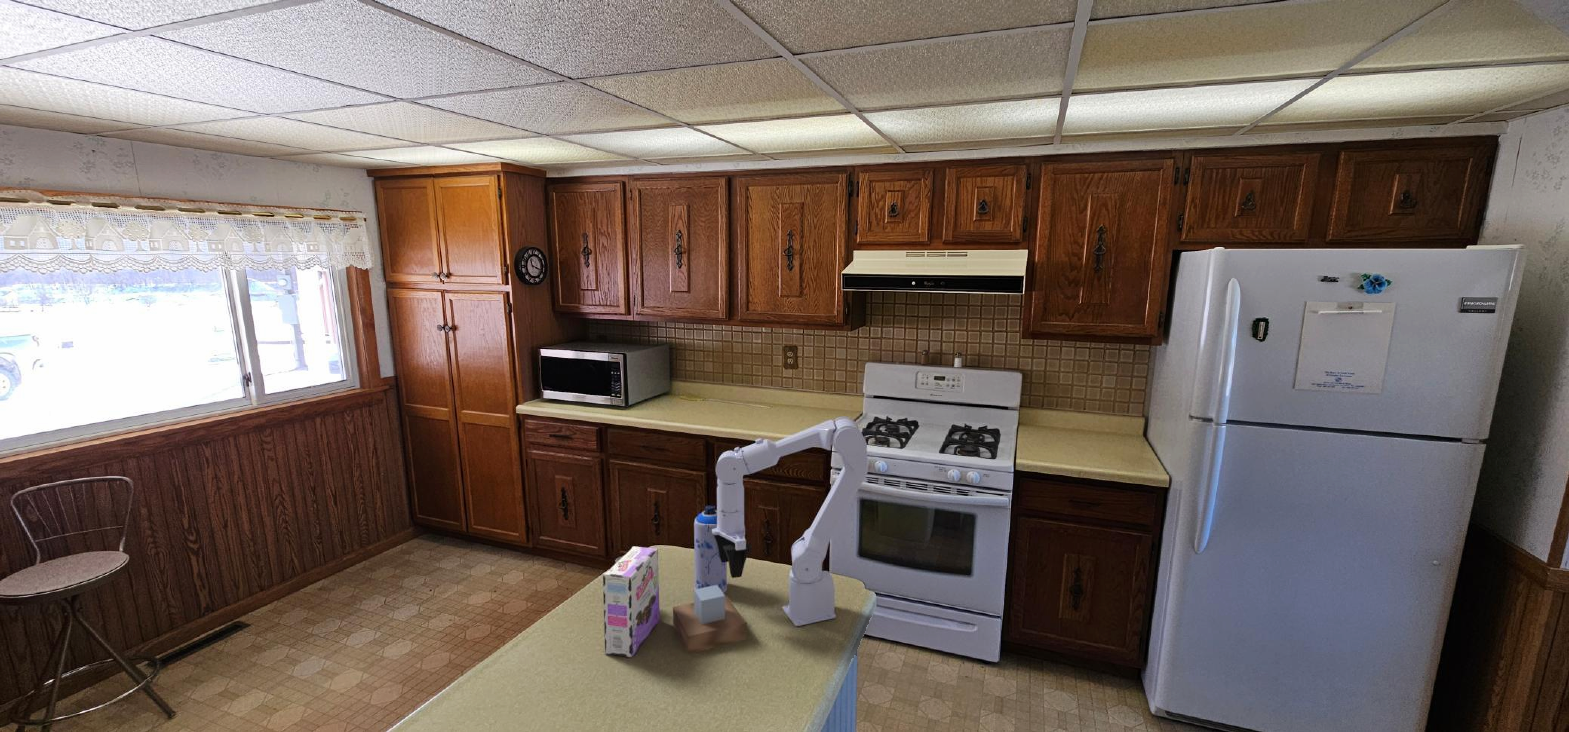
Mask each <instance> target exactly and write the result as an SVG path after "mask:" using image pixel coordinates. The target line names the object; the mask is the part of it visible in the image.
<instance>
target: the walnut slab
mask: <svg viewBox="0 0 1569 732" xmlns="http://www.w3.org/2000/svg"><path fill="white" fill-rule="evenodd" d="M672 624H673V625H674V627H675V630H676V631H677V634H678V636H679V638H680V640H681V642H682V643H683V646H684V648H685V650H686V652H687V654H693V653H697V652H701V651H704V650H709V649H713V648H716V647H721V646H725V645H729V644H734V643H737V642H742V641H745V640H747V622H746V620H745V619H744V618H743V616H742V615H741V613H740V612H739V611H738V609H737V607H735V605H734V604H733V602H732V600H730V597H728V596H727V595H725V619H723V620H718V621H714V622H710V623H705V624H701V623H700V621H699V619H698V618H697V616H696V614H695V613H694V602H691V603H687V604H681V605H676V606H672Z"/></svg>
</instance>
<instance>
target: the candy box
mask: <svg viewBox="0 0 1569 732" xmlns="http://www.w3.org/2000/svg"><path fill="white" fill-rule="evenodd" d="M658 550H659V549H658V548H654V547H645V546H644V547H643V546H632V547H631V548H630V549H629V550H628V551H627V553H625V554H624V555H623V556H621V557H622V558H621V559H620V560H619V561H618V562H617V563H615V562H614V564H613V565H612V566H611V567H610V568H609V569H608V570H607V571H606V572H603V575H602V585H603V586H602V589H603V596H602V597H603V626H604V631H603V632H604V653H605V654H607V655H613V656H622V657H626V658H627V657H628V658H632V657H633V656H634V655H635V653H636V652H637V651H638V650H639V648H640V647H641V646H642V644H643V643H644V642H645V640H646V639H647V638H648V637H649V635H650V634H651V632H652V631H653V629H654V628H655V627H656V626H657V624H658V623H659V621H660V587H659V582H660V581H659V552H658Z"/></svg>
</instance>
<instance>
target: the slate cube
mask: <svg viewBox="0 0 1569 732" xmlns="http://www.w3.org/2000/svg"><path fill="white" fill-rule="evenodd" d="M725 596H726V595H725V594H724V593H723V592H722V591H721V590H720V588H719V587H718V585H714V586H709V587H704V588H700V589H695V590H693V603H694V613H695V614H696V616H697V618H698V619H699V621H700V623H701V624H705V623H710V622H714V621H718V620H723V619H725Z"/></svg>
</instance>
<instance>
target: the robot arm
mask: <svg viewBox="0 0 1569 732" xmlns="http://www.w3.org/2000/svg"><path fill="white" fill-rule="evenodd" d="M866 441H867V440H866V439H865V437H864V435H863V433H862V432H861V430H860V428H859V426H858V424H857V422H856V421H855V420H854V419H853V418H851V417H848V416H840V417H837V418H835V419H834V420H833V419H829V420H825V421H823V422H821V423H818V424H816V425H813V426H811V427H809V428H805V429H804V430H801V431H798V432H797V433H794V434H791V435H790V436H787V437H785V438H784V437H783V438H782V439H779V440H776V441H774V440H771V439H768V438H766V439H762V437H759V438H757V439H755V443H752V444H750V445H746V446H744V447H741V448H740V446H737V447H735V448H734V449H733V450H727V451H724V452H722V453H721V455H720V456H719V457H718V460H717V462H716V465H715V475H716V477H717V480H716V481H717V482H716V484H717V486H716V511H717V528H714V529H712V534H713V536H714V538H715V540H716V543H717V547H718V551H719V556H720V560H721V562H722V563H724V562H727V563H728V569H729V573H730V577H731V578H732V579H735V578H739V577H740V578H741V577H742V575H743V572H744V568H745V565H746V564H745V563H746V560H747V557H748V556H749V554H750V552H751V551H752V545H751V544H750V543H747V539H746V537H745V535H746V526H745V486H744V483H743V482H744V479H743V477H744V476H745V475H746V476H747V475H751V474H754V473H757V472H759V471H762V470H764V469H768V468H771V467H773V466H776V465H777V464H778V461H779V460H780V458H781V457H784V456H787V455H791V454H794V453H797V452H801V451H804V450H806V449H811V448H813V447H819V448H822V449H824V450H827V451H831V450H832V449H831V448H832V447H831V446H833V448H834V450H835V451H836V452H837V454H838V455H839V456H840V457H841V461H842V463H843V467H842V469H841V470H840V472H839V474H838V476H837V478H836V479H835V481H834V483H833V485H832V487H831V488H830V490H829V492H828V494H827V496H826V498H825V499H824V502H823V503H822V505H821V507H820V509H819V511H818V512H817V515H816V516H815V517H814V520H813V522H812V524H811V525H810V526H809V528H808V529H806V530H805V531H804V533H803V534H802V536H801V537H800V538H799V539H797V540H795V541H794V543H793V544H792V546H791V549H790V554H791V561H792V562H791V563H792V565H791V568H790V571H789V574H788V576H789V578H788V584H789V585H788V605H783V606H782V607H781V609H782V610H783V613H785V614H786V616H787V617H788V618H789V619H790V621H791V622H792V623H793V625H794V626H795V627H800V626H803V625H804V626H805V625H809V624H814V623H818V622H823V621H826V620H831V619H836V617H837V615H836V614H835V595H836V594H835V590H836V589H835V588H836V587H835V583H834V578H833V577H832V575H831V573H830V572H829V571H828V570H823V562H824V560H825V559H826V556H827V551H828V548H829V544H830V541H831V540H832V538H833V536H834V535H835V532H836V530H837V529H838V527H839V525H840V524H841V522H842V519H843V518H844V517H845V514H846V512H847V511H848V509H849V507H850V505H851V504H852V502H853V500H854V498H855V497H856V495H857V493H858V491H859V489H860V488H861V486H862V484H863V482H864V481H865V479H866V477H867V475H868V472H869V459H868V444H867V442H866Z"/></svg>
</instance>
